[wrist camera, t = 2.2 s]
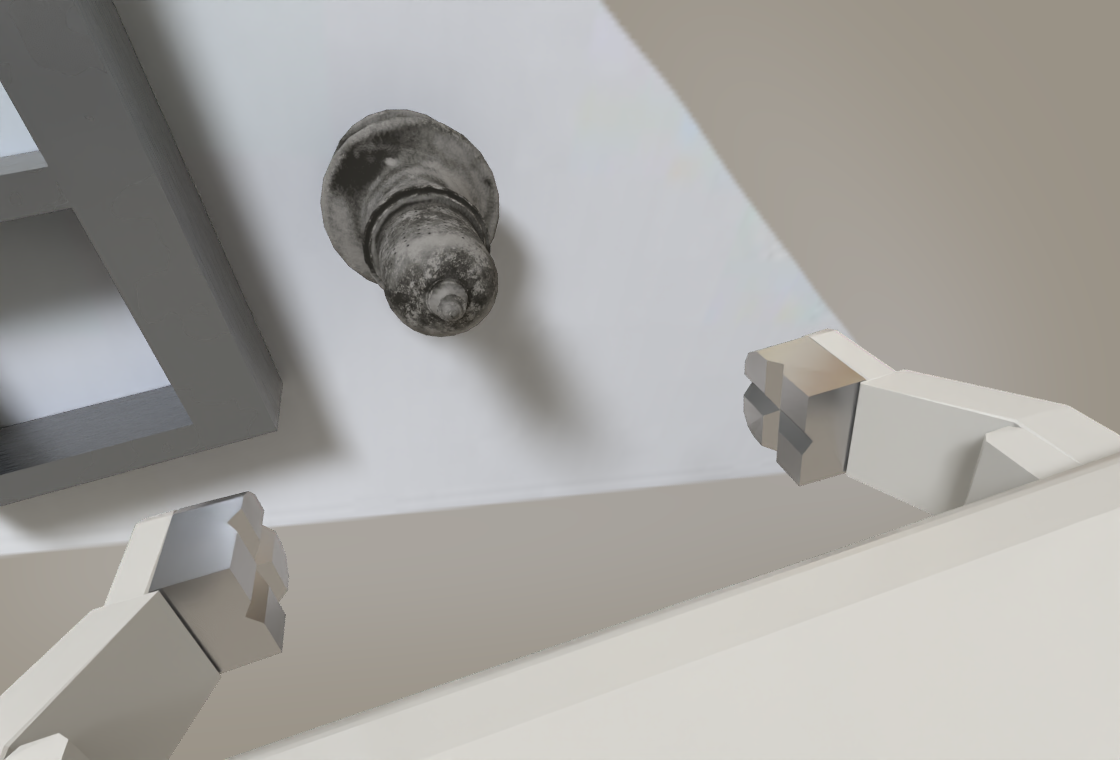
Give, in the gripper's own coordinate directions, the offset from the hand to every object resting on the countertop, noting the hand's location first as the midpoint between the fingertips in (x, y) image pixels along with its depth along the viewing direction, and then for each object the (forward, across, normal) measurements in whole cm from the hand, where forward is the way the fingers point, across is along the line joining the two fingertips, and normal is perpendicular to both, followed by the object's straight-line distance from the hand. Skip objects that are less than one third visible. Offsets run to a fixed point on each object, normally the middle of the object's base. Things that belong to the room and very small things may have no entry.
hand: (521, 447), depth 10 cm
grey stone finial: (+17, 0, 0) cm, 17 cm away
